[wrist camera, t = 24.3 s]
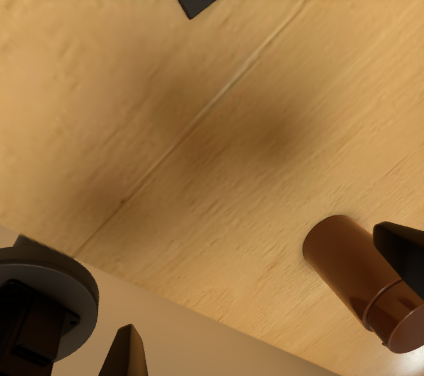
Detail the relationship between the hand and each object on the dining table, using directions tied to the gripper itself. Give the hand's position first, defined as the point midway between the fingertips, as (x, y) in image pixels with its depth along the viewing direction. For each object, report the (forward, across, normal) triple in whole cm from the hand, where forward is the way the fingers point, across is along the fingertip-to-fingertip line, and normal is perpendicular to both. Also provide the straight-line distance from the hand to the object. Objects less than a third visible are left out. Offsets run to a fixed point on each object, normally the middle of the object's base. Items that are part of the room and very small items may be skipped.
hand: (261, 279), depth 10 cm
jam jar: (+12, -11, +13) cm, 21 cm away
